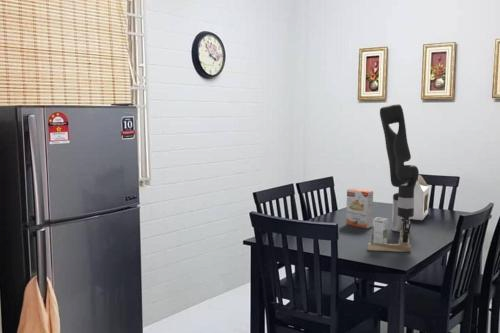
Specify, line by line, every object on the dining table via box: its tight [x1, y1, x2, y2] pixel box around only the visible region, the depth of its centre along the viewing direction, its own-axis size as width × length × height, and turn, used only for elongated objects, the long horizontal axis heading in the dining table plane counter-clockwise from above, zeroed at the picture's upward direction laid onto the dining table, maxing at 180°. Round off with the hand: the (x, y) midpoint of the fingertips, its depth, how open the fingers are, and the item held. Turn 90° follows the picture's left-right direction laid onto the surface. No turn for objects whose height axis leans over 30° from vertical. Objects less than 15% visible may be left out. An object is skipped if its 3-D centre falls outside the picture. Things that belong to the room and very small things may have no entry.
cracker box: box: [345, 188, 374, 230], centre depth 287 cm, size 14×6×21 cm, turn 45°
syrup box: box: [371, 216, 389, 244], centre depth 243 cm, size 6×6×14 cm
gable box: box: [410, 174, 430, 221], centre depth 314 cm, size 22×13×28 cm, turn 153°
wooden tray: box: [367, 230, 412, 253], centre depth 245 cm, size 16×20×8 cm
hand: (404, 241), depth 244 cm, fingers closed on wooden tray, 3 cm apart
